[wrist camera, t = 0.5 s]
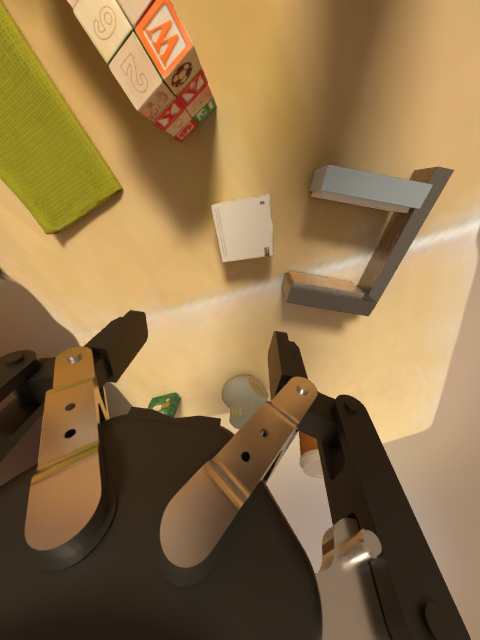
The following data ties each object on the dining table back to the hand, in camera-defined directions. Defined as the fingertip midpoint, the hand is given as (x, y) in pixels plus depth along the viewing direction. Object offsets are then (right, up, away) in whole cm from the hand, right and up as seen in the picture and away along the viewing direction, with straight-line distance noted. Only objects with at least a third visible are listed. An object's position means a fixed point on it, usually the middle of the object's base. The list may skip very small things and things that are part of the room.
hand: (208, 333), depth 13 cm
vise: (+18, +14, +19) cm, 30 cm away
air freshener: (+3, -15, +38) cm, 41 cm away
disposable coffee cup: (+21, -27, +44) cm, 56 cm away
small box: (+3, +16, +19) cm, 25 cm away
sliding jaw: (+18, +19, +16) cm, 30 cm away
